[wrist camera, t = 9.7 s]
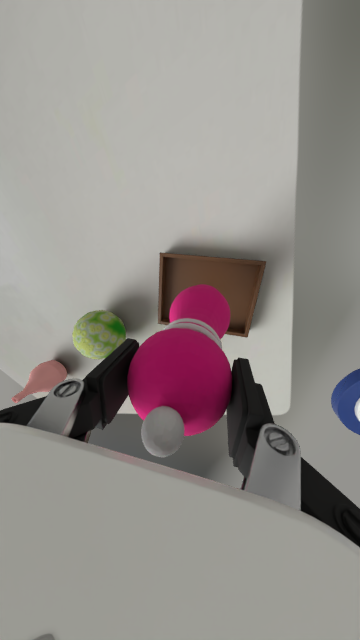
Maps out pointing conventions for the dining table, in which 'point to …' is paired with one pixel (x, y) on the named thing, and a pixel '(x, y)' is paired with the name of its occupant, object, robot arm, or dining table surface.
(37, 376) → the pink bulb vase
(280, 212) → the dining table surface
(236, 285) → the tray
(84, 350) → the decorative ball
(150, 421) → the pepper mill
